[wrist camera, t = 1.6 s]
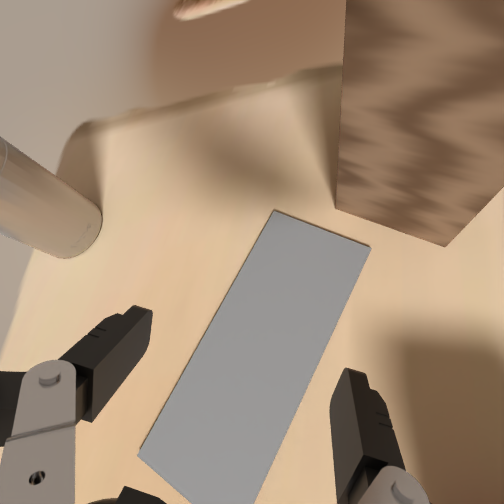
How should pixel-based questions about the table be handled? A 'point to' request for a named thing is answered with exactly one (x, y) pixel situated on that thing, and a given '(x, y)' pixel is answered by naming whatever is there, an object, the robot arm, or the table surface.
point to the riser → (421, 113)
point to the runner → (254, 364)
